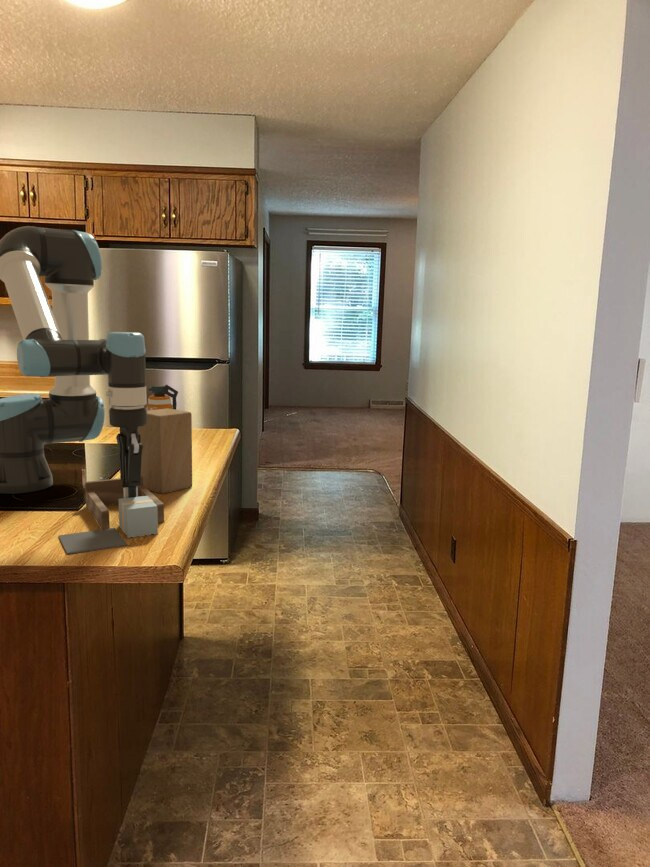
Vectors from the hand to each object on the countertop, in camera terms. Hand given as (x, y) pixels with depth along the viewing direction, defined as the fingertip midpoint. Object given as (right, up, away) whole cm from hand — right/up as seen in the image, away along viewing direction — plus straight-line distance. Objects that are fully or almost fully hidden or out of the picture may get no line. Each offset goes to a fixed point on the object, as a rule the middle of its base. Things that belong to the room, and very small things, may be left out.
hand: (131, 514), depth 137 cm
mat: (-4, -4, -12) cm, 13 cm away
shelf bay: (-3, -1, +6) cm, 7 cm away
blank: (+3, -3, -5) cm, 6 cm away
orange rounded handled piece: (-17, +15, +93) cm, 96 cm away
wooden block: (0, +3, +29) cm, 29 cm away
